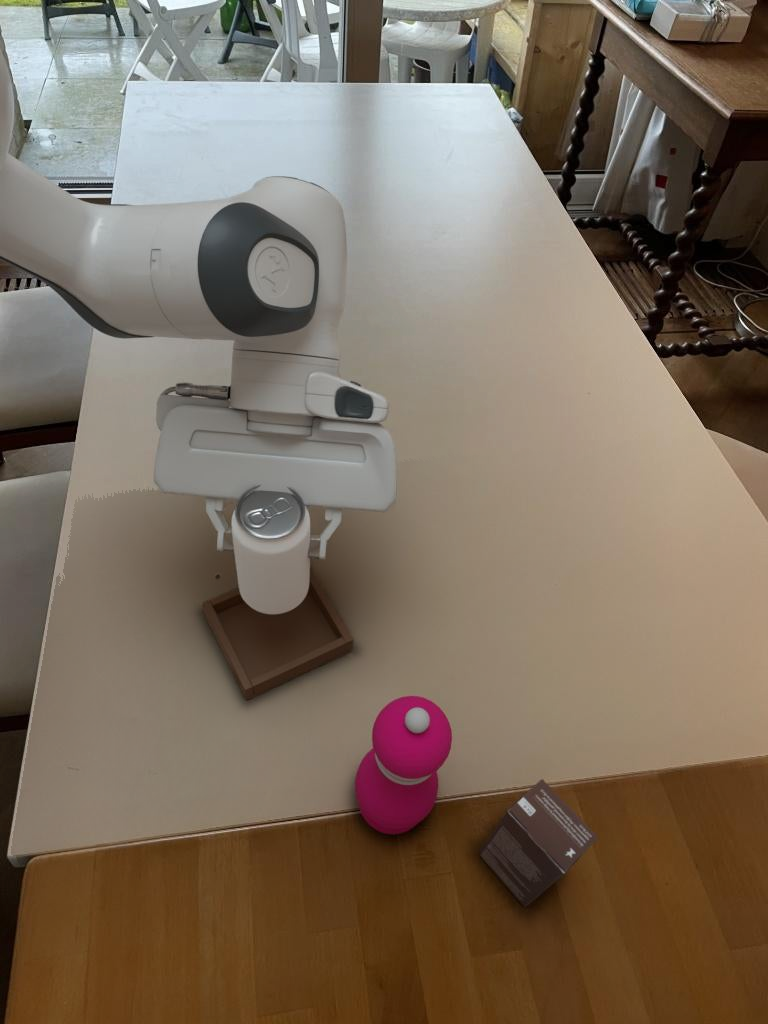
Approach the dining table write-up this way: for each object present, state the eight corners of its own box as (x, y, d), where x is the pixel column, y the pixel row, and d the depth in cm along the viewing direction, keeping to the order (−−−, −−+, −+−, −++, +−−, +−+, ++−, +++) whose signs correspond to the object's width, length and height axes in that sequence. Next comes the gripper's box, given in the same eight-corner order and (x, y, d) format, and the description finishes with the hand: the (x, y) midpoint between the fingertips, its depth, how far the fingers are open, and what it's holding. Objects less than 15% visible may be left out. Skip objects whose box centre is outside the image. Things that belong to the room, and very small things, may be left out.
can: (225, 579, 73) (213, 502, 63) (283, 545, 75) (280, 466, 66) (265, 629, 70) (259, 557, 60) (323, 592, 73) (326, 517, 63)
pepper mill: (445, 816, 71) (489, 737, 55) (376, 856, 68) (400, 785, 52) (406, 746, 74) (435, 652, 58) (338, 781, 72) (349, 694, 56)
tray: (246, 700, 76) (245, 690, 74) (204, 614, 81) (201, 602, 79) (352, 650, 80) (353, 639, 78) (305, 571, 85) (305, 559, 83)
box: (558, 872, 69) (601, 837, 59) (523, 909, 67) (562, 879, 57) (509, 817, 71) (542, 775, 62) (474, 851, 69) (503, 813, 60)
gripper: (147, 379, 61) (139, 551, 64) (406, 403, 62) (390, 572, 64) (167, 380, 68) (159, 537, 70) (402, 402, 69) (387, 556, 71)
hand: (272, 554), depth 67 cm, fingers closed on can, 6 cm apart
